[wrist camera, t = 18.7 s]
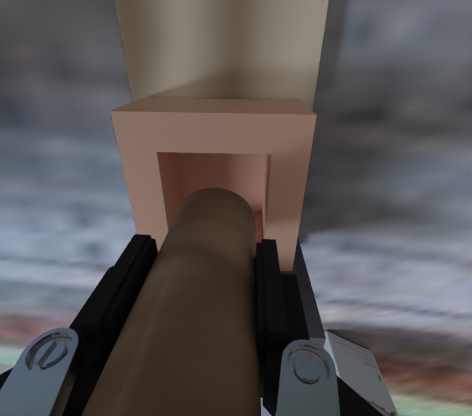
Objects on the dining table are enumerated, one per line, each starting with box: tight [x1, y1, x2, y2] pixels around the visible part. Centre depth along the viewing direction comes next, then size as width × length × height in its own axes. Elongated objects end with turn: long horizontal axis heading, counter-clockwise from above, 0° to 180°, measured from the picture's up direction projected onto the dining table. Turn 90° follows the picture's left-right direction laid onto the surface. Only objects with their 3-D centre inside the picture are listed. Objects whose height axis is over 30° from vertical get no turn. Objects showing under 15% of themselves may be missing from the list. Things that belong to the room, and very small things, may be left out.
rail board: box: [114, 0, 329, 110], centre depth 17 cm, size 12×28×2 cm, turn 0°
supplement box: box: [323, 331, 398, 416], centre depth 28 cm, size 7×7×13 cm
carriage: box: [110, 97, 317, 271], centre depth 17 cm, size 10×10×5 cm
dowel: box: [82, 188, 261, 416], centre depth 9 cm, size 4×4×10 cm
